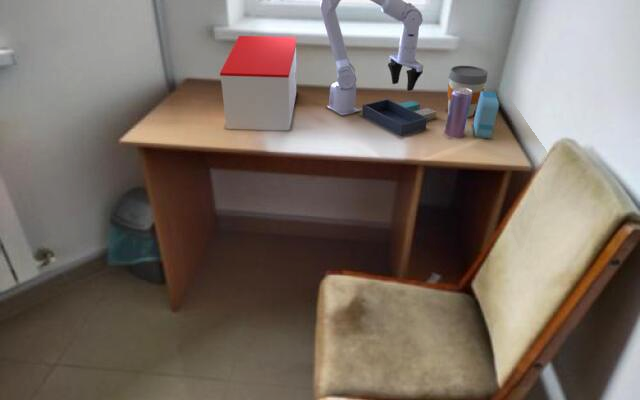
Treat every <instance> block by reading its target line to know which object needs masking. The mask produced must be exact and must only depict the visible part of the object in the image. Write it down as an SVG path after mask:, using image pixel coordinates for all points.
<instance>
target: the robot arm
mask: <svg viewBox="0 0 640 400" xmlns="http://www.w3.org/2000/svg"><path fill="white" fill-rule="evenodd" d="M341 1H342V0H321V1H320V5H319V10H320V13H321V16H322V20H323V23H324V27H325V29H326V30H325V31H326V34H327V38H328V42H329V44H330V48H331V51H332V56H333V59H334V62H335V66H336V75H337V81H336V82H334V83H332V84H331V86H330V88H329V100H328V101H329V102H328V103H329V104H328V105H327V108H328V109H331V110H332V111H334V112H335V113H337V114H339V115H341V116H345V115H349V114H353V113H358V112H360V111H361V110H360V109H359V108H356V96H357V84H356V83H357V76H356V70H355V67H354V66H353V64H351V61H350V58H349V55H348V51H347V48H346V44H345V40H344V36H343V33H342V29H341V25H340V21H339V18H338V15H337V7H338V6H339V5H340V2H341ZM369 1H371V2H372V3H374V4H376V5H378V6H380V9H381V12H382V13H383V14H385V15H387V16H389V17H390V18H392V19H394V20H396V21H398V22H401V23H402V24H401V30H400V35H399V36H400V37H399V45H398V50H397V54H394V53H393V54H389V56H388V61H389V62H388V63H387V67H388V70H389V72H390V78H391V84H392V85H396V84H399V80H400V75H401V71H402V68H403V66H404V67H407V68H409V69H408V70H407V69H406V75H407V84H406V87H407V88H406V90H407V92H410V91H414V88H415V86H416V84H417V81H418V79H419V78H420V76H421V75H422V74H423V72H424V65H423V64H422V63H420V62H418V61H417V58H416V54H417V49H418V48H417V47H418V42H419V41H418V40H419V35H420V34H419V32H420V26H421V25H422V24H423V21H424V19H423V15H422V12H421V11H420V10H419V9H418V8H417V7H416V6H415V5H413V4H412V3H411V2H406V1H404V0H369Z"/></svg>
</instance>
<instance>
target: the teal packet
mask: <svg viewBox="0 0 640 400" xmlns="http://www.w3.org/2000/svg"><path fill="white" fill-rule="evenodd" d="M398 104H399V105H401V106H403V107H406V108H408V109H410V110H412V111H417V110H420V106H421V104H420V103H418V102H416V101H414V100H408V101H404V102H400V103H398Z"/></svg>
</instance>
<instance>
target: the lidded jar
mask: <svg viewBox="0 0 640 400" xmlns="http://www.w3.org/2000/svg"><path fill="white" fill-rule="evenodd" d="M448 78H449V82H448V84H447V99H448V100H447V101H448V104H447V112H448V111H449V106H450V101H451V96H452V92H453V89H454V88H457V87H464V88H468V89H471V90H472V98H471V103H470V107H469V112H468V117H467V118H470V117H473V115H474V114H475V112H476V109H477V106H478V101H479V97H480V93H481V91H485V88H484V87H485V84H486V83H487V81H488V71H487V70H486V69H484V68H481V67H478V66H472V65H455V66H453V67H451V69H450V72H449V75H448Z"/></svg>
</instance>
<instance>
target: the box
mask: <svg viewBox="0 0 640 400" xmlns="http://www.w3.org/2000/svg"><path fill="white" fill-rule="evenodd" d="M399 104H400V103H397V102H395V101H393V100H391V99H388V98H386V99H382V100H377V101H373V102H368V103H364V104H362V111H361V116H362V117H364V118H366V119H367V120H370V121H371V122H373V123H374V124H376V125H378V126H380V127H382V128H384V129H386V130H387V131H389V132H391V133H393V134H395V135H396V136H399V137H404V136H407V135H410V134H413V133H417V132H420V131H423V130H426V129H427V126H428V125H427V124H428V120H427V119H428V118H427V117H425V116H422V115H420V114H418V113H416V112H414V111H412V110H410V109H408V108H406V107H403V106H401V105H399Z"/></svg>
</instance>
